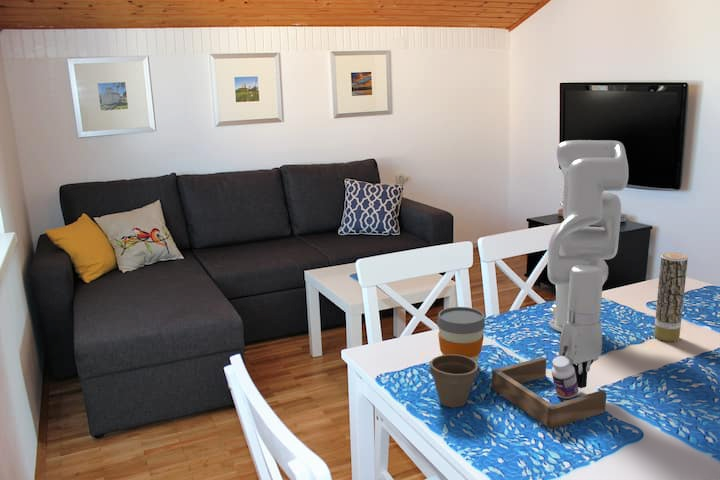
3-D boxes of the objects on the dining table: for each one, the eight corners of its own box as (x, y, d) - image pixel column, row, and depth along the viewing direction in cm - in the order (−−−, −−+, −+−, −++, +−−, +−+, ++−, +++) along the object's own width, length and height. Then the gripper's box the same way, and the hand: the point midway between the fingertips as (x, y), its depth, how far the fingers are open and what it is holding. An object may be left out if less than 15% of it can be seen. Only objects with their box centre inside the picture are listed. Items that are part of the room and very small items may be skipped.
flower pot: (481, 393, 164) (481, 356, 161) (473, 416, 154) (474, 377, 151) (435, 387, 168) (435, 351, 165) (425, 409, 157) (424, 370, 155)
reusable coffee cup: (427, 368, 178) (427, 316, 175) (454, 352, 187) (455, 303, 183) (466, 382, 170) (467, 327, 166) (493, 365, 179) (494, 313, 175)
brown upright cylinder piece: (681, 343, 189) (690, 259, 183) (656, 341, 190) (664, 259, 184) (675, 333, 196) (684, 252, 189) (651, 332, 197) (658, 252, 190)
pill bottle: (551, 389, 164) (545, 359, 160) (570, 381, 165) (564, 350, 160) (563, 402, 159) (557, 371, 155) (583, 393, 160) (577, 362, 156)
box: (491, 388, 166) (492, 370, 165) (541, 374, 173) (542, 356, 172) (551, 429, 147) (552, 409, 146) (605, 412, 154) (606, 392, 152)
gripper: (594, 305, 165) (590, 372, 170) (548, 316, 159) (545, 386, 163) (618, 315, 159) (613, 384, 163) (571, 327, 152) (567, 399, 157)
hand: (579, 385), depth 163 cm, fingers closed
